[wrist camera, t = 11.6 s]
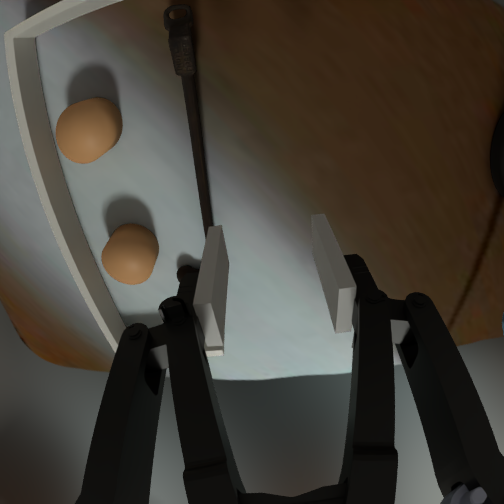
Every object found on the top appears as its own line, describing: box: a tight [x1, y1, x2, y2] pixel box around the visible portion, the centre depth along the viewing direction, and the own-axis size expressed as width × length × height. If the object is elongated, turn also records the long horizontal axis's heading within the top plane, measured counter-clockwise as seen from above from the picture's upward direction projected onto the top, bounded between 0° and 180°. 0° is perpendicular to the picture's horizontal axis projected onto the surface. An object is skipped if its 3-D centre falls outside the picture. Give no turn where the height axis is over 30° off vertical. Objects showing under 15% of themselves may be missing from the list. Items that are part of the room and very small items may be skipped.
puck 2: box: [102, 224, 159, 285], centre depth 33 cm, size 6×6×4 cm
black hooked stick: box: [164, 4, 213, 282], centre depth 28 cm, size 5×5×30 cm
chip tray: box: [4, 0, 225, 357], centre depth 29 cm, size 16×44×4 cm, turn 6°
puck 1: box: [56, 97, 123, 164], centre depth 25 cm, size 6×6×4 cm
